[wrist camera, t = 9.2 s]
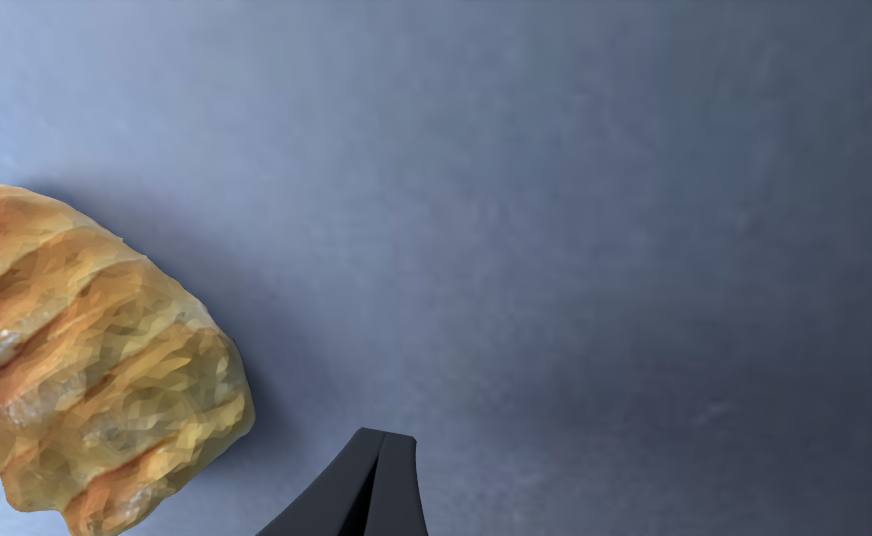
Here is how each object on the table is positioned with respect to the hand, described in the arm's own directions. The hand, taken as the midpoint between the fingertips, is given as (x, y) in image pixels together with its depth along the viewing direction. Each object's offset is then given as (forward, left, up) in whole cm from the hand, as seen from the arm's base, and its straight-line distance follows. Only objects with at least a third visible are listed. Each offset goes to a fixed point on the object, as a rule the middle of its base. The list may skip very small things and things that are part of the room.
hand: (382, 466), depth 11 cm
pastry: (0, +8, -3) cm, 9 cm away
